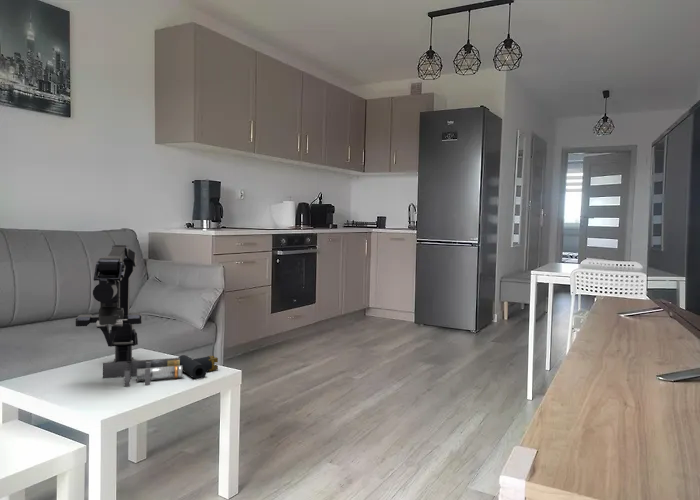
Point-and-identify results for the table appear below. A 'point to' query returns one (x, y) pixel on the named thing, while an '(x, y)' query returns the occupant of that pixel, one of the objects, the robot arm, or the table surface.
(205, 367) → the pipe connector
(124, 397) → the table surface
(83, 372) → the table surface
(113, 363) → the gray rectangular bar
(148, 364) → the twin upright pegs
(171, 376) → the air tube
